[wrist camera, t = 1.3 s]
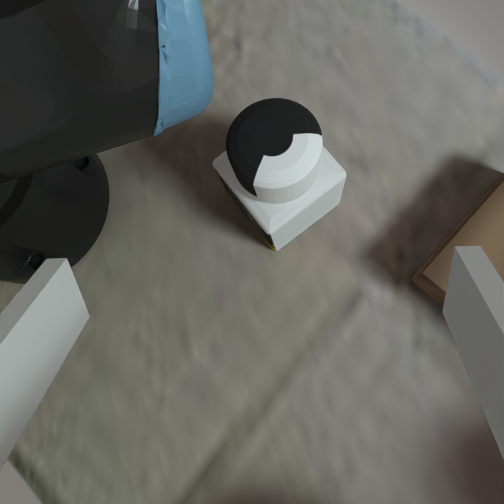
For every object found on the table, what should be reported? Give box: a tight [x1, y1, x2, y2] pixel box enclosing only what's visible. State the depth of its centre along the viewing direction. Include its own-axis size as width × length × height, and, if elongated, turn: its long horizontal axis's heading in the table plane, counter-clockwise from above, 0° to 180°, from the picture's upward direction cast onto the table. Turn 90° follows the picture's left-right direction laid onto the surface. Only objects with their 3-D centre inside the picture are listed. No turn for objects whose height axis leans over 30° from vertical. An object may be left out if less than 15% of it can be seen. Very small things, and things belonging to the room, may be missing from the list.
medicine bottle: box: [213, 98, 346, 251], centre depth 32 cm, size 7×7×12 cm
